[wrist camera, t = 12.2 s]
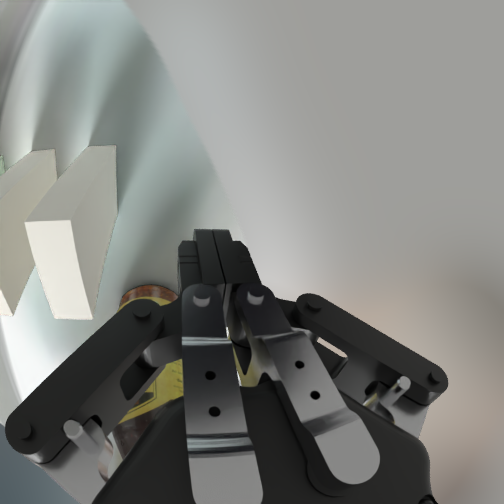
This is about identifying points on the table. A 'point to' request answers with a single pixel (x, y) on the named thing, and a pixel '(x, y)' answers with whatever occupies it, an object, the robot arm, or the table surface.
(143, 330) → the robot arm
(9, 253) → the domino
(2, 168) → the domino
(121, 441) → the sauce bottle
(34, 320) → the table surface
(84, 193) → the domino
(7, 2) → the table surface
